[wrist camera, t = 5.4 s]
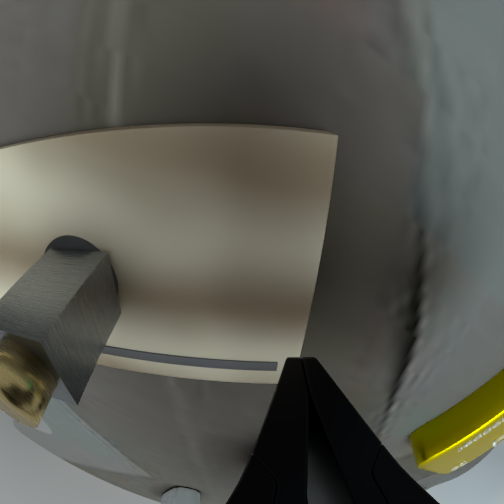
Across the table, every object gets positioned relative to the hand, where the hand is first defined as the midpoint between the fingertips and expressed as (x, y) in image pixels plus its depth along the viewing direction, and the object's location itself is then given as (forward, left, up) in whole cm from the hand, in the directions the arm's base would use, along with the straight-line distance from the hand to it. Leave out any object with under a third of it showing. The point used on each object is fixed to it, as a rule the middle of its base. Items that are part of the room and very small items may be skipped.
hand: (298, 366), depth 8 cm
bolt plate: (0, +12, -5) cm, 13 cm away
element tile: (-18, -25, -6) cm, 32 cm away
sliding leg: (0, +8, -4) cm, 9 cm away
